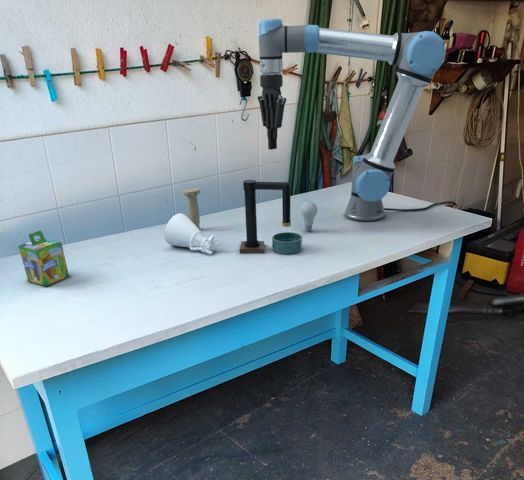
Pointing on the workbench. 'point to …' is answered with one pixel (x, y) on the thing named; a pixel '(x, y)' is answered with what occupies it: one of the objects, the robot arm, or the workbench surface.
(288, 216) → the spout
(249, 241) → the black post
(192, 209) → the handle
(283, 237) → the basin
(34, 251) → the chalk box
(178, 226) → the rocket engine
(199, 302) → the workbench surface
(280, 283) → the workbench surface
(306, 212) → the lightbulb
